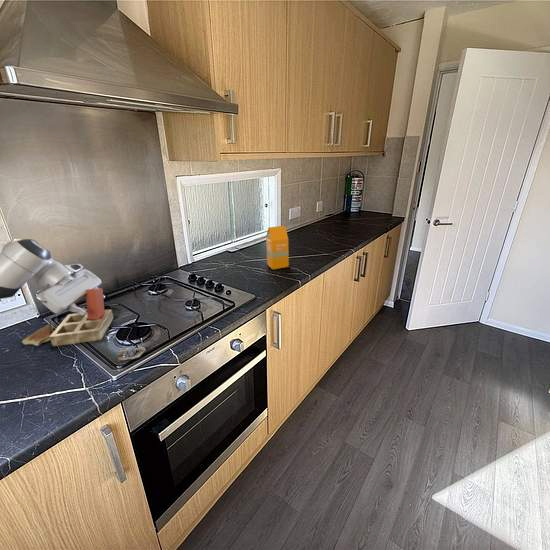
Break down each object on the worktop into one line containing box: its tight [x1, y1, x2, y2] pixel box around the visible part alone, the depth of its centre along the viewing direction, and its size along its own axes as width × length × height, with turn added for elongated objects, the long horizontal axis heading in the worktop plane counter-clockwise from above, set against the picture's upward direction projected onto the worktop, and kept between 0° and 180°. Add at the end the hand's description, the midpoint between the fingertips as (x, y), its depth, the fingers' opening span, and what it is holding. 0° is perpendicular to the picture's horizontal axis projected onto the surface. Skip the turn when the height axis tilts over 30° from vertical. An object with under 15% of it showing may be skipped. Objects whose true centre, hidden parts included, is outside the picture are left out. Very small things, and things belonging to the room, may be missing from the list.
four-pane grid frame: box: [49, 308, 114, 347], centre depth 97 cm, size 14×14×4 cm
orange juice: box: [265, 225, 290, 270], centre depth 144 cm, size 8×9×20 cm
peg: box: [85, 287, 105, 319], centre depth 99 cm, size 4×4×10 cm
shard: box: [21, 321, 54, 347], centre depth 95 cm, size 11×8×2 cm
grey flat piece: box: [115, 346, 147, 362], centre depth 85 cm, size 7×8×2 cm
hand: (94, 305), depth 98 cm, fingers open, 8 cm apart
